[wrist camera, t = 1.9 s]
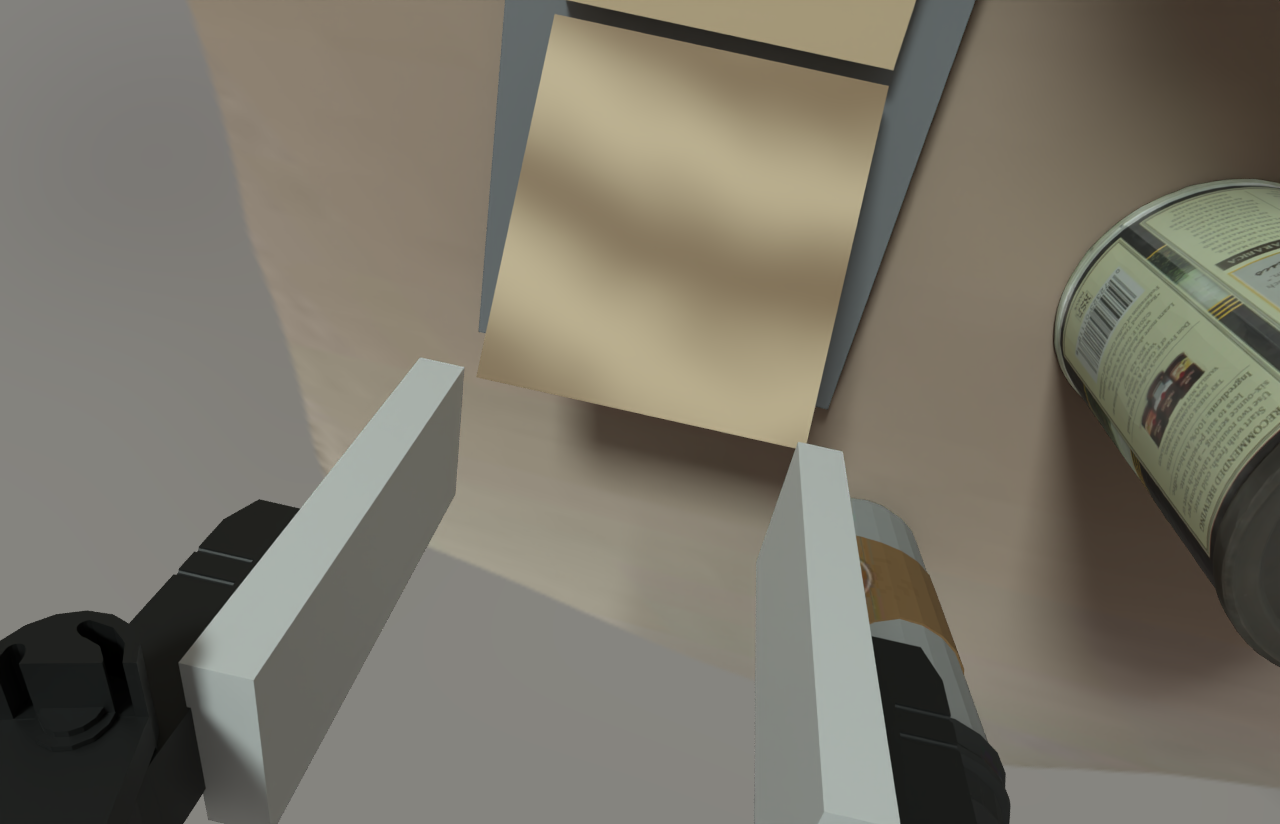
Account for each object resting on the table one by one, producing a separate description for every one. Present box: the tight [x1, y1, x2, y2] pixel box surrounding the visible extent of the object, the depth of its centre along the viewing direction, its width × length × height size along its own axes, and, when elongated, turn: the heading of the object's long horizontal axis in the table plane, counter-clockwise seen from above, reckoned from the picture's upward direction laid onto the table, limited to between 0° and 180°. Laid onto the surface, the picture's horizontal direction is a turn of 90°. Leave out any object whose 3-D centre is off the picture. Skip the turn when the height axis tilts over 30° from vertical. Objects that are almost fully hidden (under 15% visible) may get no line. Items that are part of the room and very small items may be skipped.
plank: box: [476, 14, 889, 448], centre depth 27 cm, size 12×11×1 cm
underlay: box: [479, 0, 975, 409], centre depth 29 cm, size 18×15×3 cm
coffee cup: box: [850, 498, 1010, 824], centre depth 33 cm, size 8×8×15 cm
